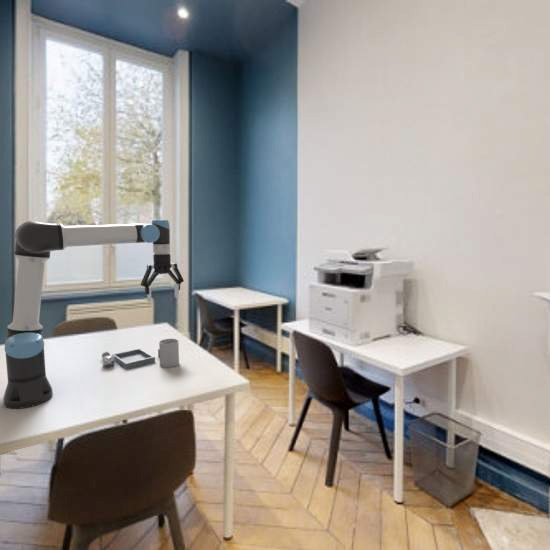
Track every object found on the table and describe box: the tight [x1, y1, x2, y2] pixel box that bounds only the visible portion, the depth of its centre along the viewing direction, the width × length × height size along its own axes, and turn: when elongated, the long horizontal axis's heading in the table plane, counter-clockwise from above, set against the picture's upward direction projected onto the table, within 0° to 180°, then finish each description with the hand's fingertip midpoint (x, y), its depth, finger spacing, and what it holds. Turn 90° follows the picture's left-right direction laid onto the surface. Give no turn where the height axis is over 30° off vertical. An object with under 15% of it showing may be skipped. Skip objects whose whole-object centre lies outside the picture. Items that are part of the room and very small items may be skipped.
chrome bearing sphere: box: [101, 354, 115, 369], centre depth 177 cm, size 5×5×4 cm
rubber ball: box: [101, 351, 111, 358], centre depth 185 cm, size 4×4×4 cm
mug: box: [158, 338, 180, 369], centre depth 180 cm, size 12×8×11 cm
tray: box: [111, 348, 156, 370], centre depth 183 cm, size 14×17×2 cm
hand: (163, 299), depth 181 cm, fingers open, 13 cm apart
